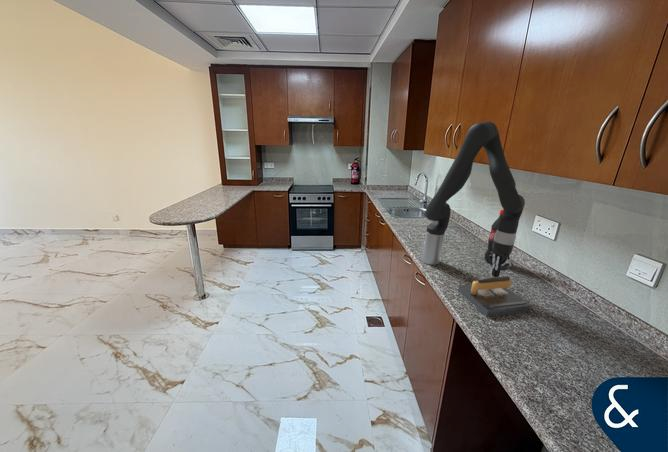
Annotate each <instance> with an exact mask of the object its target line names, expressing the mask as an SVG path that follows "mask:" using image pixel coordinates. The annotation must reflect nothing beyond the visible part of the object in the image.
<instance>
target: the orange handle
mask: <svg viewBox="0 0 668 452" xmlns="http://www.w3.org/2000/svg"><path fill="white" fill-rule="evenodd" d="M512 283H513V280H511V277H510V276H509V275H508V276H498V277H486V278H485V277H484V278H478V279H477V280H473V281H472V283H471V284H472V288H471V292H470V293H471V294H473V295H477V293H478V290H486V289H496V288H507V289H508V288H511V286H512Z"/></svg>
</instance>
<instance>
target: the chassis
mask: <svg viewBox="0 0 668 452" xmlns="http://www.w3.org/2000/svg"><path fill="white" fill-rule="evenodd" d="M471 288H472V283H470V284H460V285H458V289H457V292H458V291H459V292H461V293H462V294H463V295H464V296H465V297H466V298H467V299H468V300H469V301H470V302H469V301H468V300H467V299H466V298H465V297H464V296H463V295H462V294H461V293H460V294H461V295H462V296H463V297H464V298H465V299H466V300H467V301H468V302H469V303H470V304H471V305H473V304H474V305H475V306H476V307H477V308H478V309H479V310H480V311H481V312H480V311H479V310H478V309H477V308H476V307H475V306H474V305H473V306H474V307H475V308H476V309H477V310H478V311H479V312H480V313H481V314H483V315H484V316H485V317H486V318H489V317H496V316H504V315H513V314H520V313H530V310H531V308H532V304H530V303H528V302H527V301H525V300H524V299H523V298H522V297H520V296H518V295H517V294H515V293H514V292H513V291H511V290H510V289H509V288H508V287H507V288H496V289H486V290H478V293H477V295H473V294H471V293H470V292H471ZM459 292H458V293H459ZM488 316H489V317H488Z"/></svg>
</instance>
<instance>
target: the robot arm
mask: <svg viewBox="0 0 668 452" xmlns="http://www.w3.org/2000/svg"><path fill="white" fill-rule="evenodd" d="M482 148H483V149H484V151H485V153H486V155H487V159H488V167H489V168H488V169H489V174H490V178H491V180H492V182H493V184H494V186H495V189H496V191H497V193H498V194H497V195H498V200H499V203H500V205H501V207H502V210H503V214H502V217H501V218H500V220H499V224H498V228H497V231H496V233H495V237H494V241H493V245H492V249H493V250H492V252H487V255H488V259H489V262H488V263H489V266H492V271H491V276H492V278H494V277H500V273H501V271H507V270H508V269H510V268H511V267H513V266H514V264H513V263H512V262H511V261H510V255H511V254H512V252H513V250H514V249H513V248H514V245H515V241H516V236H517V231H518V227H519V222H520V219H521V216H522V213H523V211H524V208H525V204H526V201H525V198H524V197H523V195H520V194H519V193H518V190H517V187H516V181H515V178H514V176H513V174H512V172H511V168H510V167H509V164H508V162H507V159H506V155H505V152H504V150H503V145H502V141H501V136H500V133H499V129H498V127H497V125H496V124H495V122H492V121H488V120H487V121H481V122H477V123H474V124H473V125H472V126H471V127H470V128H469V129H468V130H467V132H466V134H465V138H464V139H463V142H462V144H461V147H460V149H459V151H458V153H457V155H456V157H455V159H454V160H453V162H452V164H451V165H450V167H449V169H448V170H447V173H446V175H445V176H444V179H443V181H442V183H441V184H440V187H439V188H438V190H437V191H436V193H435V194H434V196H433V197H432V199H431V200H430V201H429V203H428V205H427V206H426V209H425V216H426V219H427V220H429V221H432V222H431V223H429V224H428V225H427V226H426V230H425V231H426V232H425V237H424V242H423V244H422V251H421V257H420V258H421V261H422V263H424V264H426V265H429V266H430V265H431V266H437V265H439V264H440V262H441V256H442V250H443V245H444V239H445V235H446V234H445V233H446V231H447V229H448V225H449V223H450V218H451V213H452V209H451V206H450V205H449V203H447V202H448V201H449V200H450V199H451V198H453V196H455V195H456V194H458V193H459V192H460V191H461V190H462V189H463V187H464V186H465V184H466V183H467V181H468V180H469V178H470V176H471V174H472V170H473V164H474V161H475V159H476V157H477V156H478V153H479V152H480V151H481V149H482ZM436 264H437V265H436Z"/></svg>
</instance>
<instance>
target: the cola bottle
mask: <svg viewBox="0 0 668 452" xmlns="http://www.w3.org/2000/svg"><path fill="white" fill-rule="evenodd" d="M503 210H504V209H501V210H500V211H499V216H498V218H497V219H496V220H495V221H494V222H493V223H492V225H491V229H490V233H489V236H488V239H487V250H486V251H485V253H484V257H483V258H484V260H485V262H487V263H489V259H488V255H487V252H492V250H493V249H492V245H493V241H494V237H495V233H496V231H497V228H498V224H499V220H500V218H501V217H502V214H503Z"/></svg>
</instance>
